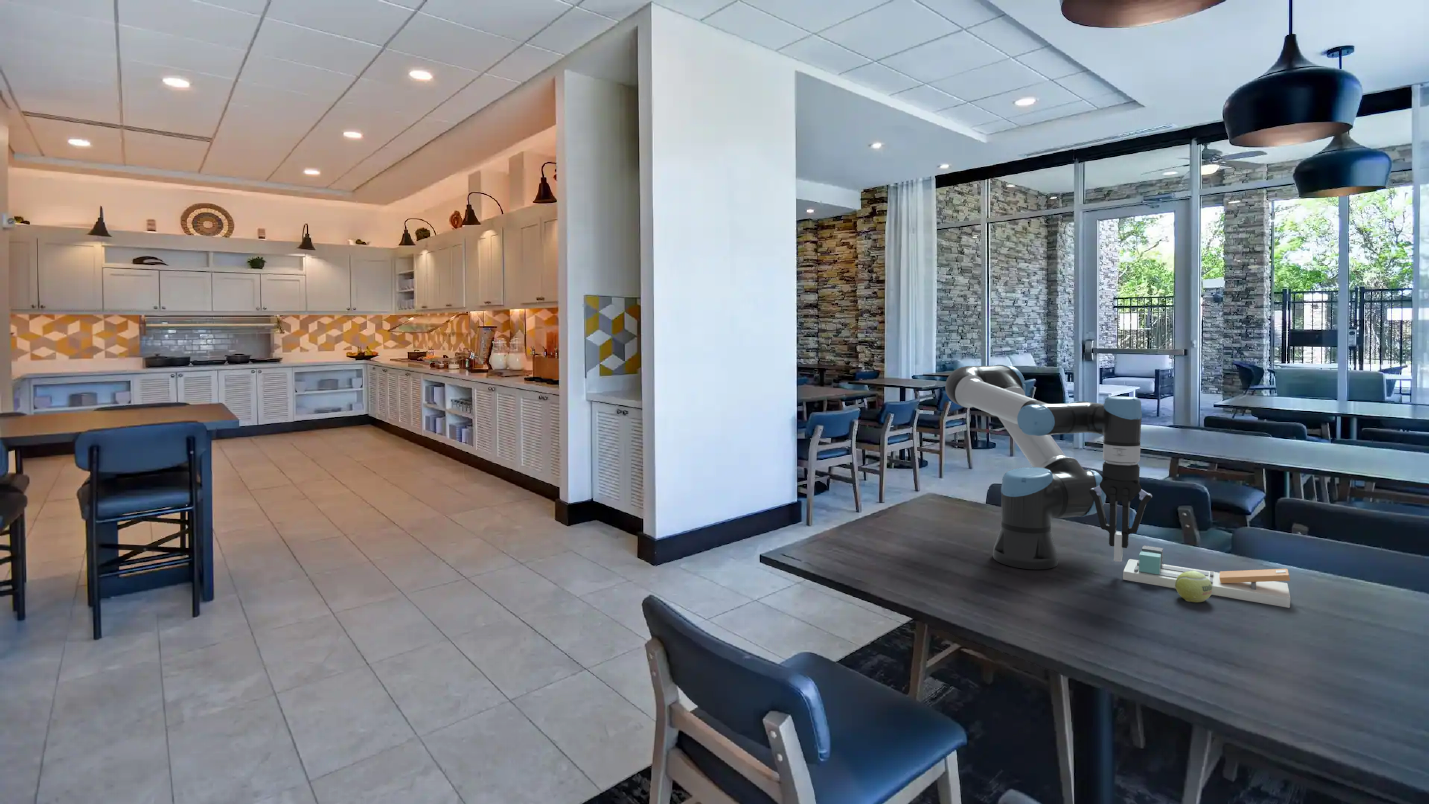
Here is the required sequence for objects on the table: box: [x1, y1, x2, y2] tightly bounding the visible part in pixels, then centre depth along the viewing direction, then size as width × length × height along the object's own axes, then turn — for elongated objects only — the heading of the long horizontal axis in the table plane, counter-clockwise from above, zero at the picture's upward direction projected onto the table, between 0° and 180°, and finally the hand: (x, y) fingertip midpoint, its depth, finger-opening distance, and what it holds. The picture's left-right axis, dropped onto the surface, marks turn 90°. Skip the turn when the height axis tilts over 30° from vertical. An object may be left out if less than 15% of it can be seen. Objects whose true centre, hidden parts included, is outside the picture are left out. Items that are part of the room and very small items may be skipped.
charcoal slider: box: [1141, 545, 1164, 567], centre depth 163 cm, size 4×3×4 cm
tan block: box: [1219, 568, 1291, 583], centre depth 149 cm, size 12×5×1 cm, turn 52°
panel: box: [1122, 558, 1291, 609], centre depth 155 cm, size 30×11×3 cm, turn 53°
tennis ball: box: [1174, 571, 1212, 603], centre depth 147 cm, size 6×7×7 cm
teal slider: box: [1138, 550, 1161, 574], centre depth 158 cm, size 4×3×4 cm
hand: (1118, 560), depth 162 cm, fingers closed
